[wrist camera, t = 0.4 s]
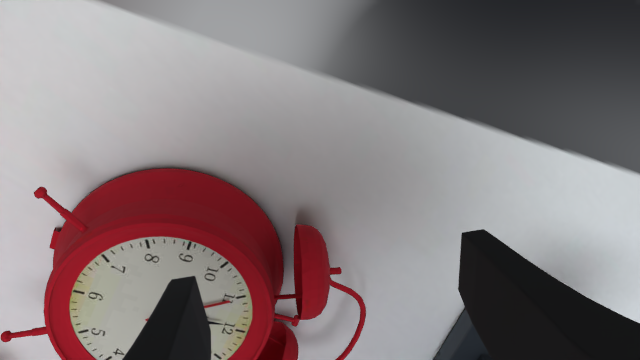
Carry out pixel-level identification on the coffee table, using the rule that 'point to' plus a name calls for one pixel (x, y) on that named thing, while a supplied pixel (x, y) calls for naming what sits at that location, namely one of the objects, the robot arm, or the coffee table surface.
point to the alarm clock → (178, 268)
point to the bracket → (463, 342)
